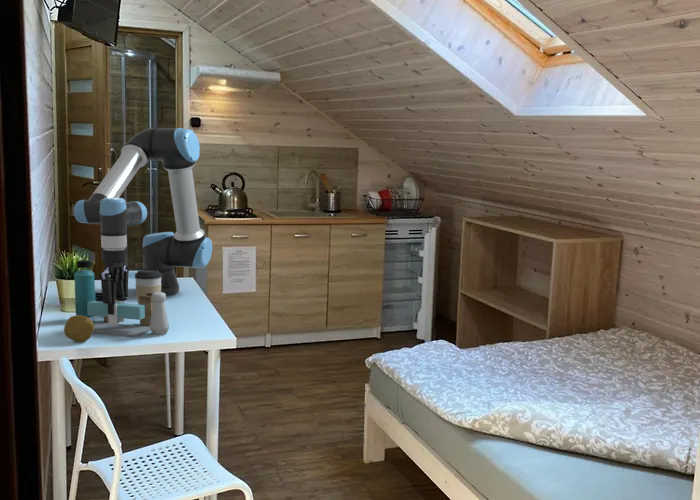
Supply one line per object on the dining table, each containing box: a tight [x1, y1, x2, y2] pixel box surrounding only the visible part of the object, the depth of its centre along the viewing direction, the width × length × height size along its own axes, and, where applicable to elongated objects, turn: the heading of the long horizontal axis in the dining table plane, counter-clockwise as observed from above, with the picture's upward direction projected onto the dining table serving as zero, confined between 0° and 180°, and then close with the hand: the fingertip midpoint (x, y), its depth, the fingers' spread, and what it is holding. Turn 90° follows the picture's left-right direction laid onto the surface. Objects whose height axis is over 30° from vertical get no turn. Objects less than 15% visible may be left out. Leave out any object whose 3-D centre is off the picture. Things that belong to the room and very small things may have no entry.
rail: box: [87, 300, 145, 321], centre depth 220 cm, size 3×18×4 cm, turn 77°
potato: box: [63, 314, 94, 343], centre depth 208 cm, size 7×8×8 cm
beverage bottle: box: [73, 259, 97, 319], centre depth 230 cm, size 6×7×20 cm
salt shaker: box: [150, 292, 170, 337], centre depth 217 cm, size 6×6×13 cm
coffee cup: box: [134, 268, 162, 305], centre depth 243 cm, size 9×9×15 cm
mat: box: [92, 321, 151, 338], centre depth 221 cm, size 10×20×1 cm, turn 77°
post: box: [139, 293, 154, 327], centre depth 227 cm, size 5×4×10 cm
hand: (116, 322), depth 220 cm, fingers closed on rail, 3 cm apart
